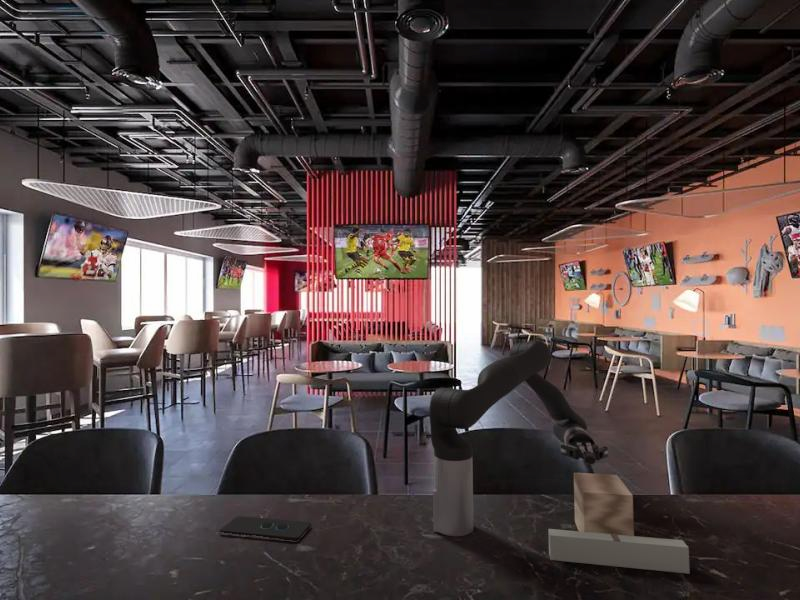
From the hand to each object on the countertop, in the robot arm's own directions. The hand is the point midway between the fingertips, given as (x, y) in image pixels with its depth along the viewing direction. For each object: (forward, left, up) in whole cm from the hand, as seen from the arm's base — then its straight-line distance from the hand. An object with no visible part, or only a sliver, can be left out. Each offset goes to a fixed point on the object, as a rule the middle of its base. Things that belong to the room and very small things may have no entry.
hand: (590, 460), depth 116 cm
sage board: (0, -24, -13) cm, 28 cm away
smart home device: (-78, -25, -14) cm, 83 cm away
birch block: (0, -12, -13) cm, 18 cm away
